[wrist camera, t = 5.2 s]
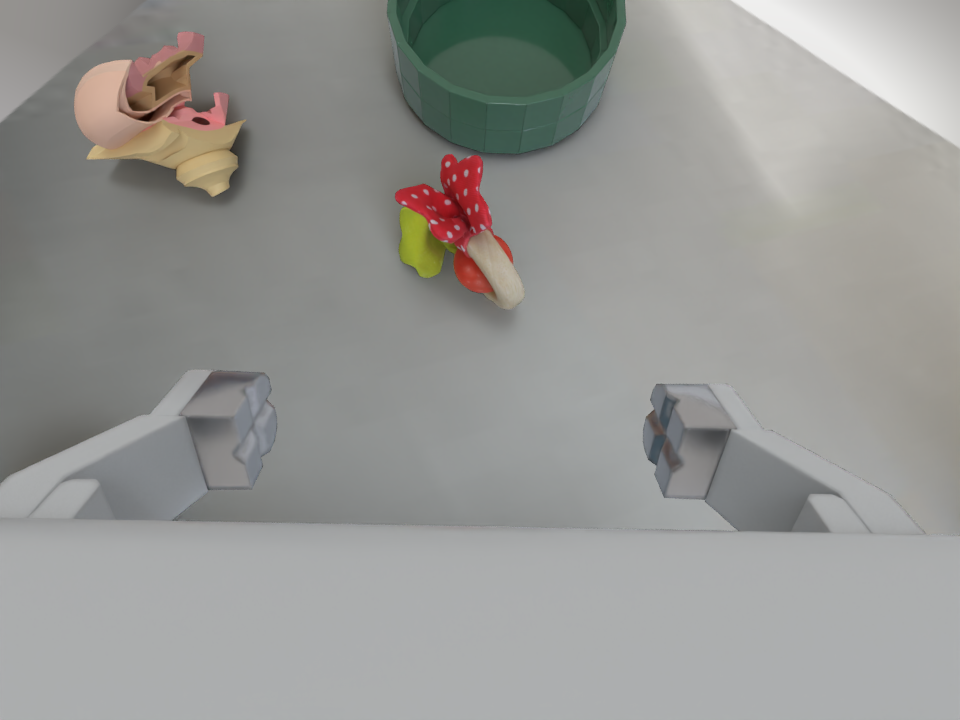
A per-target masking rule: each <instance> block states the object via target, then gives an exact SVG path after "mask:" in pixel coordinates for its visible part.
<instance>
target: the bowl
mask: <svg viewBox="0 0 960 720" xmlns="http://www.w3.org/2000/svg"><path fill="white" fill-rule="evenodd" d="M387 17H388V23H389V29H390V36H391V42H392V48H393V54H394V61H395V67H396V73H397V76H398V79H399V82H400V85H401V88H402V92H403V95H404V98H405V100H406V101H407V102H408V103H409V105H410V106H411V107H412V109H413V110H414V111H415V113H416V114H417V115H418V117H419V118H420V119H421V120H422V122H423V123H424V124H425V125H426V126H428V127H429V128H431V129H432V130H434V131H435V132H437V133H438V134H440V135H441V136H442V137H444V138H445V139H447V140H448V141H450V142H452V143H455V144H458V145H461V146H464V147H467V148H470V149H473V150H476V151H480V152H483V153H506V154H518V153H519V154H520V153H524V152H528V151H532V150H536V149H540V148H544V147H548V146H552V145H553V144H555V143H557V142H558V141H560V140H562V139H563V138H565V137H567V136H568V135H570V134H571V133H573V132H575V131H576V130H578V129H579V128H580V127H581V125H582V124H583V123H584V122H585V121H586V119H587V118H588V117H589V116H590V115H591V113H592V112H593V111H594V110H595V109H596V107H597V106H598V104H599V101H600V98H601V95H602V92H603V89H604V87H605V84H606V81H607V78H608V75H609V72H610V69H611V66H612V64H613V61H614V58H615V55H616V52H617V49H618V46H619V43H620V40H621V37H622V35H623V32H624V29H625V26H626V10H625V0H388V4H387Z"/></svg>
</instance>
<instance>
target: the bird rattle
mask: <svg viewBox="0 0 960 720" xmlns="http://www.w3.org/2000/svg"><path fill="white" fill-rule="evenodd" d="M482 173H483V161H482V159H481V157H480V156H478V155H474V156H469V157H467V158H465V159H463V160H462V161H460V162H459V163H458V162H457V160H456V158H455V157H454V156H453V155H452V154H448V155H446V156H444V158H443V159H442V162H441V172H440V178H441V183H442V186H443V189H444V192H445V194H443V193H441V192H439V191H438V190H435V189H433V188H432V187H430V186H428V185H426V184H421V185H418V186H413V187H408V188H404V189H400V190H399V191H397V192H396V194H395V199H396V201H397V202H398V203H399V204H401V205H403V206H405V207H403V208H402V209H401V211H400V227H401V231H402V238H401V241H400V244H399V254H400V259H401V261H402V262H403V263H405V264H408V265H411V266H413V267H415V268H416V270H417V272H418V274H419V275H420V276H421V277H424V278H429V277H432V276H435V275H437V274H438V273H440V271H441V267H442V264H443V259H444V254H445V250H446V248H447V249H448V251H450V252H451V253H453V254H454V271H455V274H456V276H457V278H458V280H459V281H460V282H461V284H462V285H463V286H465V287H466V288H467V289H469V290H471V291H473V292H477V293H483V294H484V295H485V296H486V297H487V299H489V300H492V301H493V302H494V303H495V304H496V305H497V306H499V307H500V308H502V309H507V310H509V309H513V308H514V307H516V306H517V305H518V304H520V303H521V302H522V300H523V299H524V296H525V291H524V286H523V284H522V281H521V279H520V277H519V275H518V273H517V271H516V269H515V268H514V266H513V258H512V254H511V251H510V249H509V247H508V245H507V244H506V243H505V242H504V241H503V240H502V239H501V238H499V237H498V236H496V235H494V234H493V231H492V229H491V225H492V220H491V213H490V210H489V208H488V206H487V204H486V202H485V201H484V199H483V197H482V196H481V195H480V192H479V186H480V182H481V178H482Z"/></svg>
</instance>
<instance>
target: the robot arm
mask: <svg viewBox="0 0 960 720" xmlns="http://www.w3.org/2000/svg"><path fill="white" fill-rule="evenodd" d="M271 390H272V389H271V385H270V381H269V377H268V376H267V375H266V374H265V373H264V372H243V371H222V370H217V371H215V370H189V371H186V372H185V373H184V375H183V376H182V377H181V378H180V379H179V380H178V382H177V383H176V384H175V385H174V386H173V388H172V389H171V390H170V391H169V392H168V393H167V395H166V396H165V397H164V398H163V399H162V400H161V402H160V403H159V404H158V405H157V406H156V407H155V409H154V410H153V411H152V412H151V413H150V414H149V415H140V416H138V417H135V418H133V419H131V420H129V421H127V422H124V423H122V424H120V425H118V426H116V427H114V428H111V429H109V430H107V431H105V432H103V433H101V434H98V435H96V436H94V437H92V438H90V439H88V440H85V441H83V442H81V443H79V444H77V445H74V446H72V447H70V448H68V449H66V450H64V451H61V452H59V453H57V454H55V455H53V456H51V457H48V458H46V459H44V460H42V461H40V462H38V463H35V464H33V465H31V466H29V467H27V468H24V469H22V470H20V471H18V472H16V473H14V474H11V475H9V476H8V477H7V478H6V479H5V480H4V481H3V482H2V483H1V484H0V720H960V535H933V534H926V533H925V532H924V531H923V530H922V529H921V527H920V526H919V525H918V524H917V523H916V522H915V521H914V520H913V519H912V517H911V516H910V515H909V514H908V513H907V512H906V511H905V510H904V509H903V508H902V506H901V505H900V504H899V503H898V502H897V501H896V500H895V499H894V498H893V497H892V495H891V494H889V493H887V492H885V491H883V490H882V489H880V488H878V487H876V486H874V485H872V484H871V483H869V482H867V481H865V480H863V479H861V478H859V477H858V476H856V475H854V474H852V473H850V472H848V471H846V470H845V469H843V468H841V467H839V466H837V465H835V464H834V463H832V462H830V461H828V460H826V459H824V458H822V457H821V456H819V455H817V454H815V453H813V452H811V451H809V450H808V449H806V448H804V447H802V446H800V445H798V444H797V443H795V442H793V441H791V440H789V439H787V438H785V437H784V436H782V435H780V434H778V433H776V432H774V431H773V430H764V428H763V427H762V426H761V424H760V423H759V422H758V420H757V419H756V418H755V416H754V415H753V414H752V412H751V411H750V410H749V408H748V407H747V406H746V404H745V403H744V402H743V400H742V399H741V398H740V396H739V395H738V394H737V392H736V391H735V390H734V388H733V387H732V386H730V385H728V384H656V386H655V387H654V389H653V392H652V395H651V399H650V401H651V403H652V405H653V407H654V410H653V411H652V412H651V413H650V414H649V415H648V416H646V419H645V424H644V428H643V444H644V449H645V453H646V455H647V458H648V460H649V461H651V462H652V463H653V464H655V465H656V466H657V467H656V471H655V474H654V475H655V477H656V480H657V482H658V484H659V487H660V489H661V491H662V494H663V496H664V498H679V499H701V500H705V502H706V503H707V504H708V505H710V506H711V507H712V508H713V509H714V510H715V511H716V512H718V513H719V514H720V515H721V516H722V517H723V518H724V519H725V520H727V521H728V522H729V523H730V524H731V525H732V526H733V527H734V528H736V529H737V530H738V531H715V530H659V529H603V528H547V527H492V526H437V525H383V524H328V523H273V522H219V521H172V520H173V519H174V518H175V517H177V516H178V515H179V514H181V513H182V512H183V511H184V510H186V509H187V508H188V507H189V506H191V505H192V504H193V503H195V502H196V501H197V500H198V499H200V498H201V497H202V496H203V495H205V494H206V493H207V492H208V490H245V489H252V488H253V486H254V484H255V482H256V480H257V477H258V475H259V473H260V471H261V469H262V467H263V464H262V459H261V457H262V456H264V455H265V454H267V453H268V452H270V451H271V448H272V446H273V444H274V442H275V437H276V431H277V416H276V410H275V407H274V406H273V405H272V404H271V403H270V402H269V401H268V400H267V398H268V396H269V394H270V392H271Z"/></svg>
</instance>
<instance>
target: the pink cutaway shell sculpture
mask: <svg viewBox="0 0 960 720" xmlns="http://www.w3.org/2000/svg"><path fill="white" fill-rule="evenodd" d="M177 40H178V48H176V47H174V46H163V48H162V50H161V51H159V52H158V53H156V54H154V55H152V57H151V59H150V58H144V57H139V58H138V59H137V60H136V61H135V62H134V63H133V61H132V60H117V61H112V62H107V63H103V64H100V65H98V66H96V67H94V68H92V69H91V70H90V71H88V72H87V73H86V74H85V75H84V76H83V78H82V79H81V81H80V83H79V85H78V87H77V89H76V91H75V100H74V110H75V116H76V120H77V123H78V126H79V128H80V129H81V131H82V132H83V134H84V135H85V136H86V137H87V138H88V139H89V140H90V141H92V142H93V143H95V144H97V145H96V146H94V147H93V148H92V150H91V151H90V153H89V155H88V157H87V159H142V160H145V161H149V162H152V163H155V164H158V165H162V166H165V167H168V168H171V169H176V179H177V180H178V181H180V182H181V183H183V184H184V186H185V187H191V186H192V187H199V188H202V189H204V190H206V191H207V192H208V193H209V194H210V195H211V196H212V197H214V196H216V195H218V194H220V193H221V192H223V191H225V190H226V189H228V188H229V187H230V186H229V178H230V176H231V174H232V173H233V172H234V170H236V169H237V168H238V167H239V166H238V157H237V156H236V155H235V154H233V153H232V152H231V151H229V150H230V149H231V147H232V145H233V143H234V141H235V139H236V137H237V134H238V132H239V130H240V127H241V125H242V123H244V122H245V121H246V120H242V121H239V122H235V123H232V124H229V125H226V126H225V123H226V115H227V108H228V101H229V95H228V94H226V93H221V92H218V93H214V99H215V107H213V108H211V109H210V110H208V111H206V112H204V111H203V112H201V113H197V112H196V111H195V110H194V109H192V108H189V107H185V106H184V105H185V101H192V97H191V84H190V74H189V69H190V66H192V65H193V64H194V63H195V62H196V61H198V60H199V59H200V58H201V57H202V56H203V46H204V36H203V35H201V34H198V33H195V32H179V33H178V36H177Z"/></svg>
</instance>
